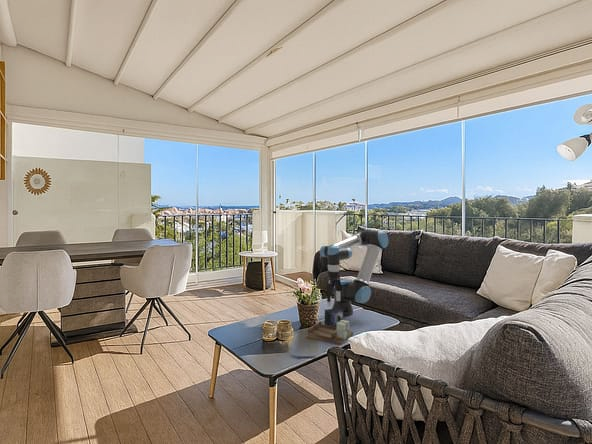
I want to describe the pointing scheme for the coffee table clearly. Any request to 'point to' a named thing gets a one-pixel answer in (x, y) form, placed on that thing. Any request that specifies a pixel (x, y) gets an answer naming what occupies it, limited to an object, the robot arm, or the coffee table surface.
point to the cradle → (330, 332)
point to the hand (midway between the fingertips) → (333, 303)
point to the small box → (333, 316)
